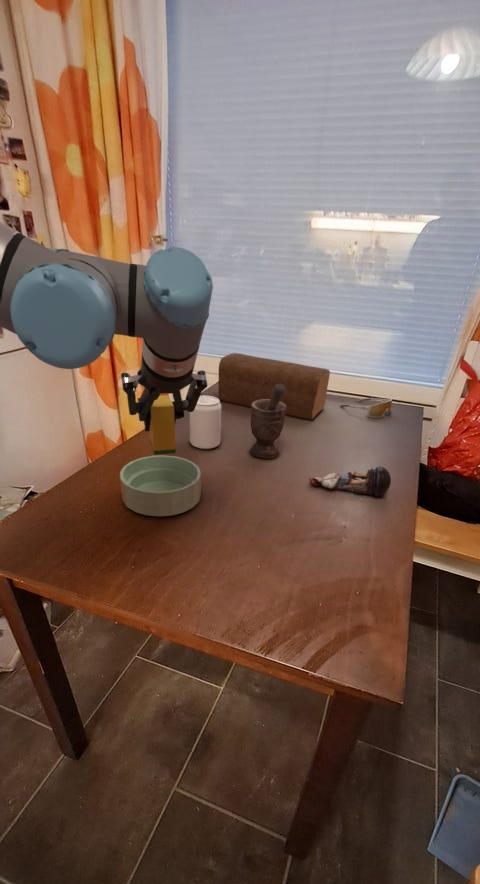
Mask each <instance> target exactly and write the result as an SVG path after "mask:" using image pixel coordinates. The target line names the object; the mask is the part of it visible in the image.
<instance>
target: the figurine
mask: <svg viewBox="0 0 480 884" xmlns="http://www.w3.org/2000/svg"><path fill="white" fill-rule="evenodd" d="M308 480H309V482H310V484H311V485H313V486H315V487H318V486H322V487H324V488H328V489H332V490H334V489H337V490H345V491H351V492H352V491H353V493H354V494H357V495H358V494H360V495H361V494H366V495H370V496H371V495H374V496H375V497H381V496H383V495H385V494H386V493H387V492H388V491H389V489H390V487H391V483H392V478H391V474H390V472H389V471H388V469H386V468H385V467H383V466H380V465H379V466H376V467H375V468H373V467H371V468H370V469H367V470H366V473H362V472H358V471H355V470H352V471H349V472H347V473H345V474H343V475H340V473H337V472H332V473H329V474H326V475H324V476H323V477H320V476H311V477H309V478H308Z"/></svg>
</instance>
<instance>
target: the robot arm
mask: <svg viewBox="0 0 480 884" xmlns="http://www.w3.org/2000/svg"><path fill="white" fill-rule="evenodd" d="M213 290H214V285H213V278H212V275H211V272H210V270H209V268H208V266H207V264H206V263H205V262H204V261H203V260H202V258H200V256H199V255H197V254H196V253H194V252H192V251H191V250H189V249H186V248H184V247H180V246H170V247H168V248H164V249H163V248H161V249H160V248H159V249H158V250H156V251H155V252H153V254H151V256H149V258H148V260H147V262H146V264H137V263H132V262H131V263H128V262H122V261H118V260H113V259H108V258H103V257H99V256H95V255H91V254H90V255H89V254H85V253H81V252H75V251H71V250H69V249H66V248H50V247H47V246H45V245H43V244H42V243H40V242H38V241H36V240H34V239H32V238H30V237H28V236H25V235H24V234H22V233H21V232H20V231H18V230H17V229H15V228H13V227H11V226H9V225H8V224H6V223H4V222H3V221H0V327H1V328H3V329H5V330H6V331H9V332H11V333H12V334H15V335H16V336H17V337H18V339H19V341H20V342H21V343H22V344H23V346H24V347H25V348H26V349H27V350H28V351H29V352H30V353H31V354H32V355H33V356H34V357H35V358H37V359H38V360H39V361H41V362H43V363H45V364H47V365H49V366H50V367H51V366H52V367H54V368H57V369H62V370H74V369H81V368H84V367H87V366H89V365H91V364H92V363H94V362H95V361H97V359H99V358H100V357H101V356H102V354H103V353H105V351H106V349H107V348H108V346H110V345H111V343H112V341H113V339H114V337H115V335H117V336H118V335H119V336H125V337H130V338H137V339H138V338H139V339H142V340H141V362H140V363H141V364H140V369H139V370H138V371H137V372H136V373H137V374H135V375H130V373H128V372H122V373H121V374H120V378H121V385H122V391H123V392H124V393H125V394H126V399H127V406H128V412H129V415H130V416H136V415H137V414H138V415H137V416H138V420H139V422H143V423H144V430H145V432H149V429H150V420H151V415H150V408H151V406H152V404H153V403H154V401H155V400H157V399H158V397H159V396H160V395H164V394H168V395H169V394H171V395H172V398H173V400H174V401H172V400H171V401H172V403H173V405H174V420H175V423H176V421H177V420H181V419H183V418H185V411H187V413H190V412H193V411H194V409H195V407H196V404H197V402H198V400H199V397H200V396H202V395H201V394H202V392H204V390H205V389H207V388H208V380H207V374H206V371H205V370H199V371H198V372H197V373H194V369H195V365H196V360H197V357H198V353H199V350H200V345H201V341H202V338H203V333H204V330H205V327H206V323H207V321H208V319H209V316H210V305H211V301H212V295H213ZM138 385H140V386H141V387H143V390H142V392H141V395H140V397H136V392H137V388H138V387H139V386H138ZM186 387H188V389H187V392H186V396H185V399H183V398H182V393H181V390H183V389H185V388H186Z"/></svg>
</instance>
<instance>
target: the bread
mask: <svg viewBox="0 0 480 884" xmlns="http://www.w3.org/2000/svg"><path fill="white" fill-rule="evenodd" d="M330 374H331V371H330V369H328V368H323V367H319V366H318V367H316V366H310V365H306V364H300V363H295V362H289V361H283V360H277V359H271V358H265V357H259V356H253V355H248V354H243V353H237V352H232V353H229V354H226V355H225V356H223V357H222V358H221V359H220V360H219V363H218V381H217V383H218V384H217V385H218V393H217V394H218V395H217V398H218V399H219V400H220V401H222V402H226V403H231V404H235V405H240V406H245V407H248V408H251V405H252V403H253V402H254V401H256V400H260V399H270V398H271V394H272V391H273V388H274V387H275V385H276V384H282V385H284V387H285V393H284V395H283V397H282V399H281V401H280V402H282V403H284V404H285V405H286V413H285V416H286V415H287V416H291V417H295V418H299V419H305V420H311V421H312V420H314V418H315V417H316V416H317V415H318V414H319V413H320V412H321V411H322V410H323V409H324V408H325V404H326V400H327V393H328V386H329V381H330Z"/></svg>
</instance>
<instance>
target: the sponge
mask: <svg viewBox="0 0 480 884" xmlns="http://www.w3.org/2000/svg"><path fill="white" fill-rule="evenodd" d="M150 415H151V420H150V429H149V431H148V433H149V443H150V446H151V449H152V451H153V456H159V455H171V454H176V452H177V450H176V422H175V420H174V405H173V403H172V400H171V397H170V395H169V394H160V395H159V397H158V399H157V400H155V401H154V403H153V404H152V406H151V408H150Z"/></svg>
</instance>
